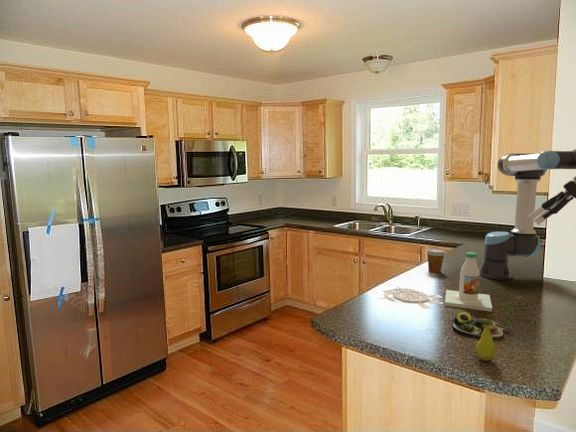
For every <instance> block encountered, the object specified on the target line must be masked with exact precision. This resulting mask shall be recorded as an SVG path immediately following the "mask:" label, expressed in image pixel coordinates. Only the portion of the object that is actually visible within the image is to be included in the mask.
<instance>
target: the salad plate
mask: <svg viewBox="0 0 576 432" xmlns="http://www.w3.org/2000/svg"><path fill="white" fill-rule="evenodd" d="M483 320H484V322H485V324H486V327H487V328H488V329H489V330H490V332H491V335H492V338H493V339H497V338H498V339H499V338H501V337H503V336H504V332H503V331H506V330H508V331H510V330H512V329H511V327H509V326H505V325H502V324H500V323H498V322H496V321H494V320H492V319H487V318H485V317H484V318H477V317H473V316H472V315H471V313H469V312H467V311H466V310H465V311H464V310H460V311H458V312H457V313H456V314H455V316H454V317H453V319H452V322H451V323H452V329H453V330H454V331H455V332H456V333H458V334H460V335H464V336H468V337H476V338H481V336H482V333H483V331H484V327H485V324H484V323H483Z"/></svg>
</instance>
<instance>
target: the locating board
mask: <svg viewBox="0 0 576 432" xmlns="http://www.w3.org/2000/svg"><path fill="white" fill-rule="evenodd" d="M444 306H445V307H446V306H447V307H453V308H462V309H469V310H477V311H483V312H484V311H485V312H490V313H492V312H493V305H492V299H491V295H490V294H487V293H486V294H485V293H478V299H477V300H465V299H462V298H460V297H459V290H451V289H446V290H445V300H444Z"/></svg>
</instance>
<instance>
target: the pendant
mask: <svg viewBox="0 0 576 432" xmlns="http://www.w3.org/2000/svg"><path fill="white" fill-rule="evenodd" d="M390 294H392V295H393V296H392V297H391V296H389V295H390ZM383 296H384V297H383V299H387V301H390V302H394V301H396V300H398V301H400V300H402V301H403V303H410V302H411V303H410V304H412V303H413V304H417V305H418V306H419V307H420V308H421V307H422V308H421V309H430V308H432V307H431V306H430V305H428V304H436V305H443V304H444V302H442V301H437V300H436V299H443V296H441V294H429V295H428V294H427V293H424V292H423V291H419V290H415V289H412V288H407V287H405V288H402V287H400V286H397V288H393V289H391V288H390V289H387V290H383ZM430 298H432V299H430ZM402 301H401V302H402ZM422 302H423V303H422ZM426 302H428V304H426Z"/></svg>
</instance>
